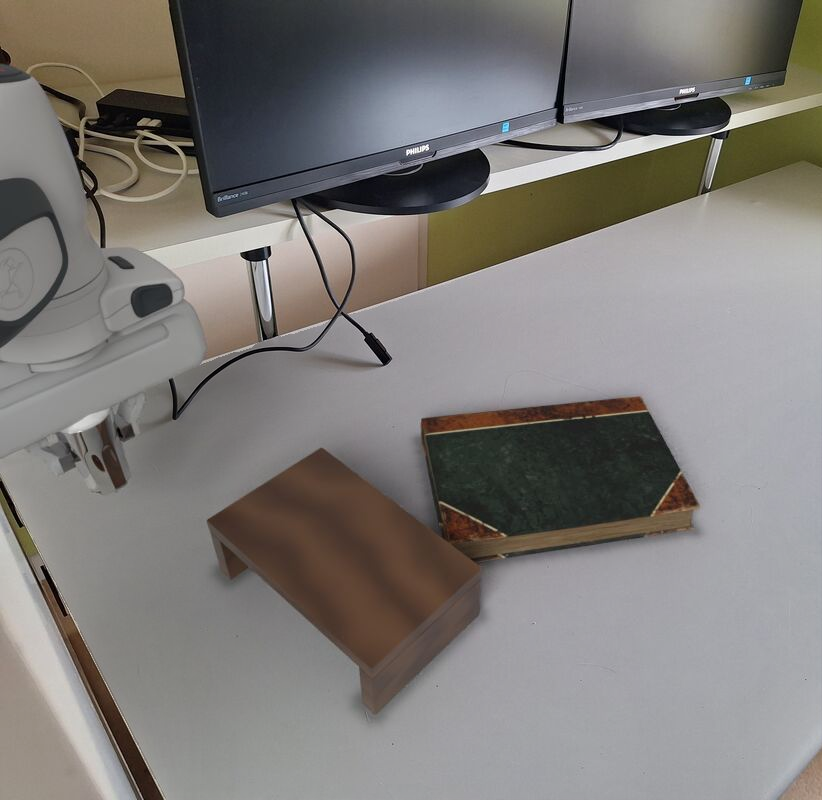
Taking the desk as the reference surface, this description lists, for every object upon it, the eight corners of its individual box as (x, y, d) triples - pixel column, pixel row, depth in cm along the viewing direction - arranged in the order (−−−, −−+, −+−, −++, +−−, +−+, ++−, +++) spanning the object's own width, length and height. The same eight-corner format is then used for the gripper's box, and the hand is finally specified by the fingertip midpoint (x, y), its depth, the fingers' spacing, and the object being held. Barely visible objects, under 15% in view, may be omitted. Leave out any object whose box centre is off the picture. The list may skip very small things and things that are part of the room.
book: (446, 568, 70) (693, 531, 76) (447, 543, 68) (702, 507, 74) (420, 438, 83) (634, 415, 89) (419, 413, 80) (639, 391, 86)
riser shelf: (375, 715, 59) (371, 668, 55) (220, 570, 68) (205, 519, 63) (478, 616, 67) (482, 567, 62) (327, 496, 75) (321, 446, 71)
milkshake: (125, 447, 66) (88, 358, 60) (148, 485, 63) (111, 395, 57) (69, 470, 64) (24, 380, 57) (89, 510, 61) (44, 420, 54)
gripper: (-114, 395, 44) (-27, 547, 53) (202, 273, 57) (229, 411, 66) (-158, 348, 47) (-68, 500, 56) (154, 241, 60) (187, 378, 69)
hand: (96, 451), depth 61 cm, fingers closed on milkshake, 4 cm apart
